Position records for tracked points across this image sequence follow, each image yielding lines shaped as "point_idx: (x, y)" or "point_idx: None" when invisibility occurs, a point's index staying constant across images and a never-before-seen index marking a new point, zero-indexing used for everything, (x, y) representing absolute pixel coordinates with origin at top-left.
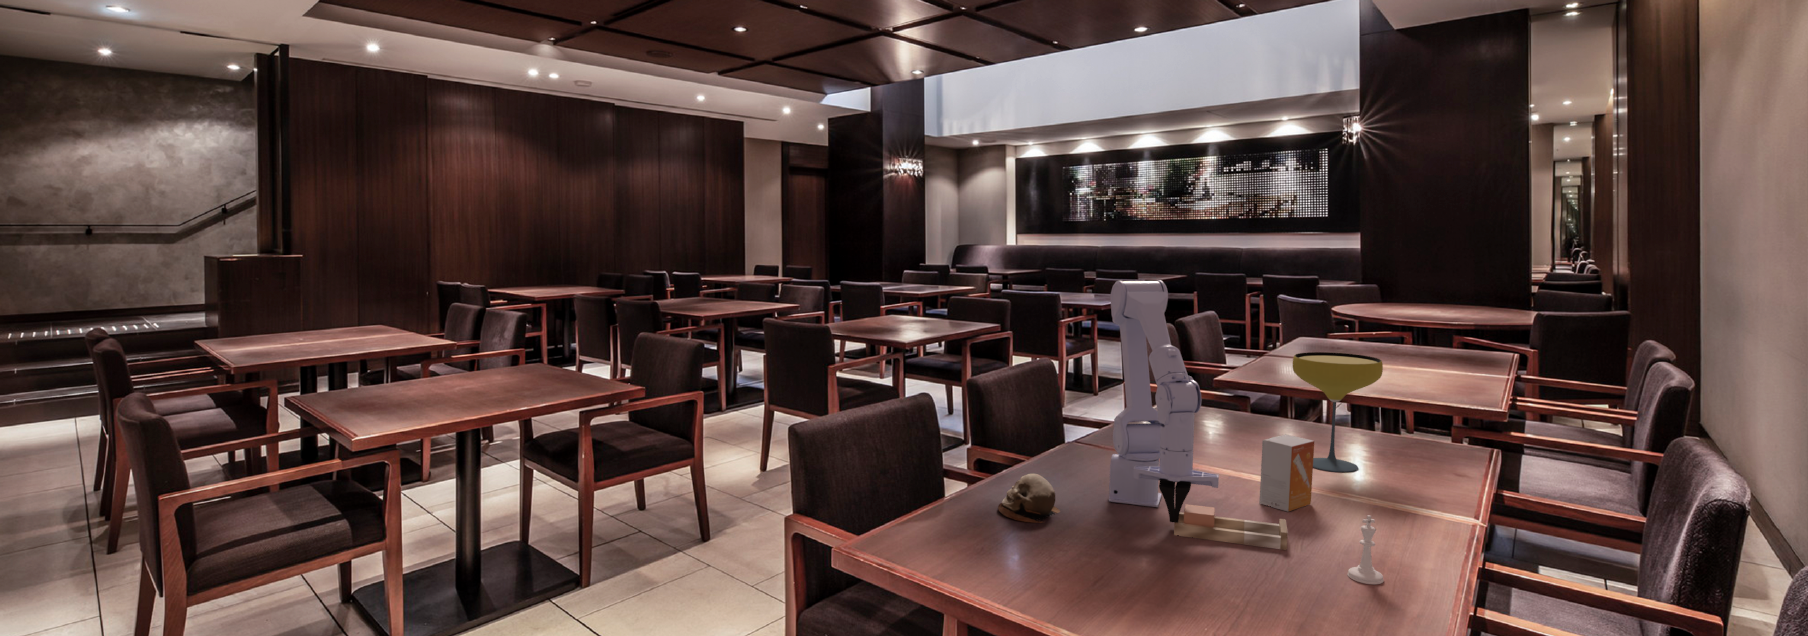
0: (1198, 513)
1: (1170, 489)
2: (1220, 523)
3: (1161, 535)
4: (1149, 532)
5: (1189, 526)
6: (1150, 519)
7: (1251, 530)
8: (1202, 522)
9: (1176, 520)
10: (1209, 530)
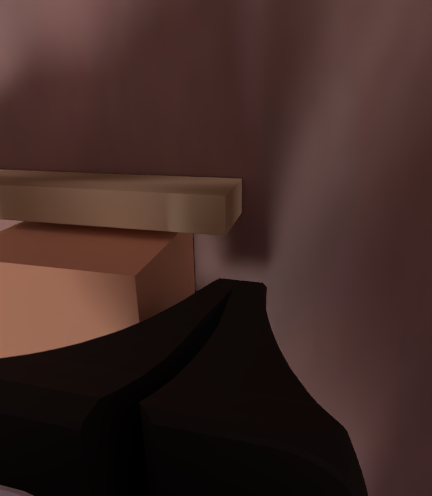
0: (35, 265)
1: (174, 408)
2: None
3: (319, 148)
4: (402, 178)
5: (128, 192)
6: (387, 397)
7: None
8: (50, 240)
9: (219, 282)
10: (22, 182)
